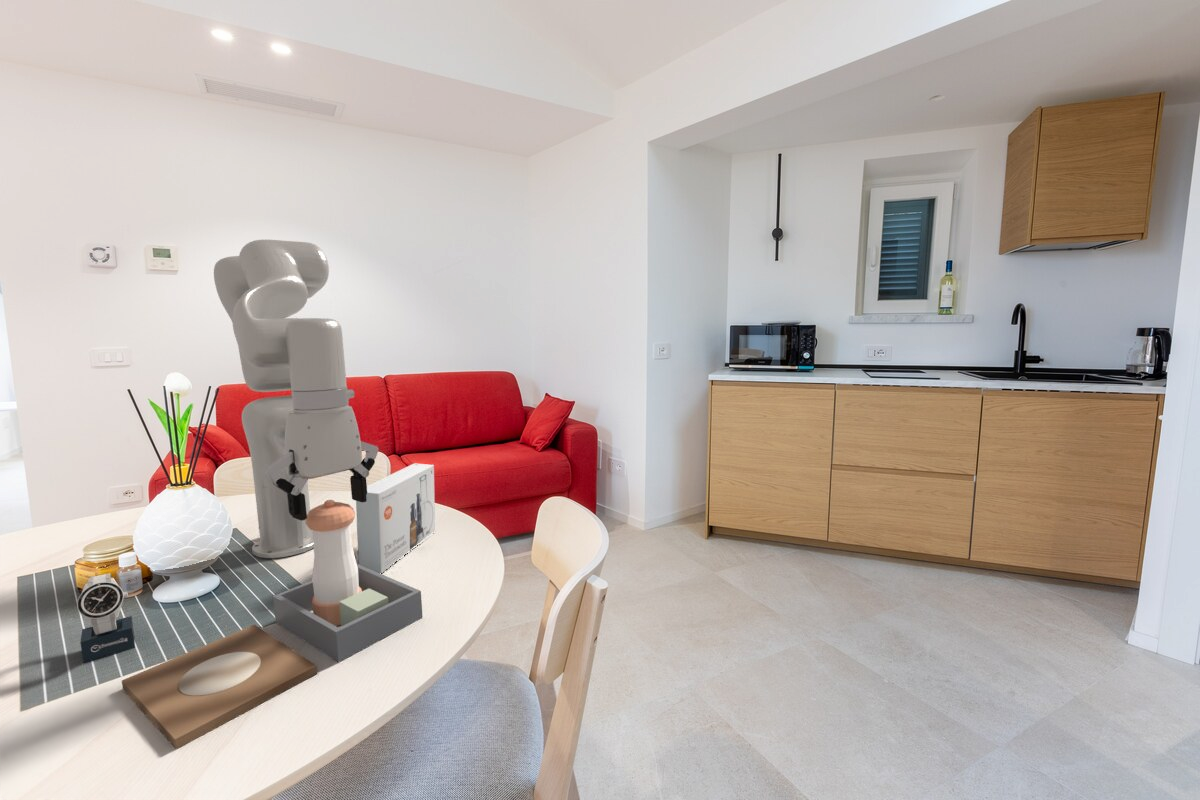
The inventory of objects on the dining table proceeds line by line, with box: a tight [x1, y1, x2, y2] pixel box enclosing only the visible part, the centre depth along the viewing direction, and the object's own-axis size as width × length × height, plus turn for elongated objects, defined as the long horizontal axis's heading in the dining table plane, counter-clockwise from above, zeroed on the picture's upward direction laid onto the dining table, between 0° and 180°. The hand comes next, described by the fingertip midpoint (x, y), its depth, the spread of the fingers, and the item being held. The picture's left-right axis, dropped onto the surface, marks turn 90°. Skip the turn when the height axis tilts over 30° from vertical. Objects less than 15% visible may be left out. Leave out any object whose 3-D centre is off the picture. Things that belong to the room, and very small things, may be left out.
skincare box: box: [355, 462, 436, 574], centre depth 113 cm, size 21×5×16 cm, turn 168°
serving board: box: [121, 624, 319, 750], centre depth 74 cm, size 18×16×1 cm
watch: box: [76, 572, 136, 664], centre depth 81 cm, size 6×8×11 cm
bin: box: [272, 563, 423, 663], centre depth 88 cm, size 18×14×4 cm
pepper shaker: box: [305, 499, 362, 627], centre depth 89 cm, size 7×7×19 cm
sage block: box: [339, 589, 389, 627], centre depth 85 cm, size 5×5×5 cm
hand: (330, 509), depth 87 cm, fingers open, 9 cm apart
